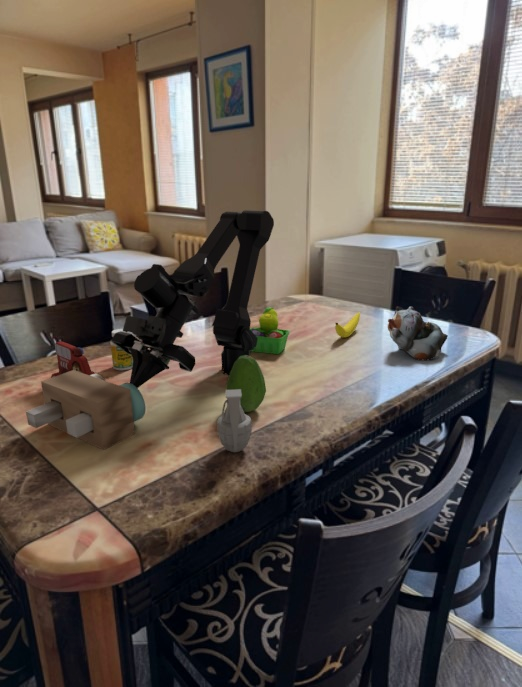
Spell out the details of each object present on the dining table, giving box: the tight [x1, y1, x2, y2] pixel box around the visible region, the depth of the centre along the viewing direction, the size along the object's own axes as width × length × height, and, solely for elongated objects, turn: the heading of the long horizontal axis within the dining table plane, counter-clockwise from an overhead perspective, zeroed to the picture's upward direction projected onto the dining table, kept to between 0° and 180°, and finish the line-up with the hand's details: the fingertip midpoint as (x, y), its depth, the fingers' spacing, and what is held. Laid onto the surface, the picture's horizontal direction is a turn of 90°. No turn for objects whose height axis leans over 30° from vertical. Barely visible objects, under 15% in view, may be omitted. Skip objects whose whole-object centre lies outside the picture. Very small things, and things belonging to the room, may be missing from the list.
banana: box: [334, 312, 361, 339], centre depth 147 cm, size 3×19×6 cm, turn 150°
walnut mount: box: [25, 370, 136, 451], centre depth 92 cm, size 15×17×9 cm
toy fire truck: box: [50, 341, 97, 378], centre depth 111 cm, size 7×12×10 cm, turn 49°
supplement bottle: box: [109, 328, 133, 371], centre depth 124 cm, size 5×5×10 cm
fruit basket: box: [250, 306, 290, 355], centre depth 135 cm, size 11×9×11 cm
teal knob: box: [66, 382, 146, 439], centre depth 91 cm, size 13×8×8 cm, turn 144°
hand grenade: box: [216, 389, 253, 453], centre depth 84 cm, size 6×6×11 cm
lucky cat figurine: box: [387, 306, 449, 361], centre depth 131 cm, size 15×12×14 cm
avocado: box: [225, 355, 267, 413], centre depth 99 cm, size 8×8×12 cm
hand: (131, 388), depth 95 cm, fingers closed, pressing on teal knob
